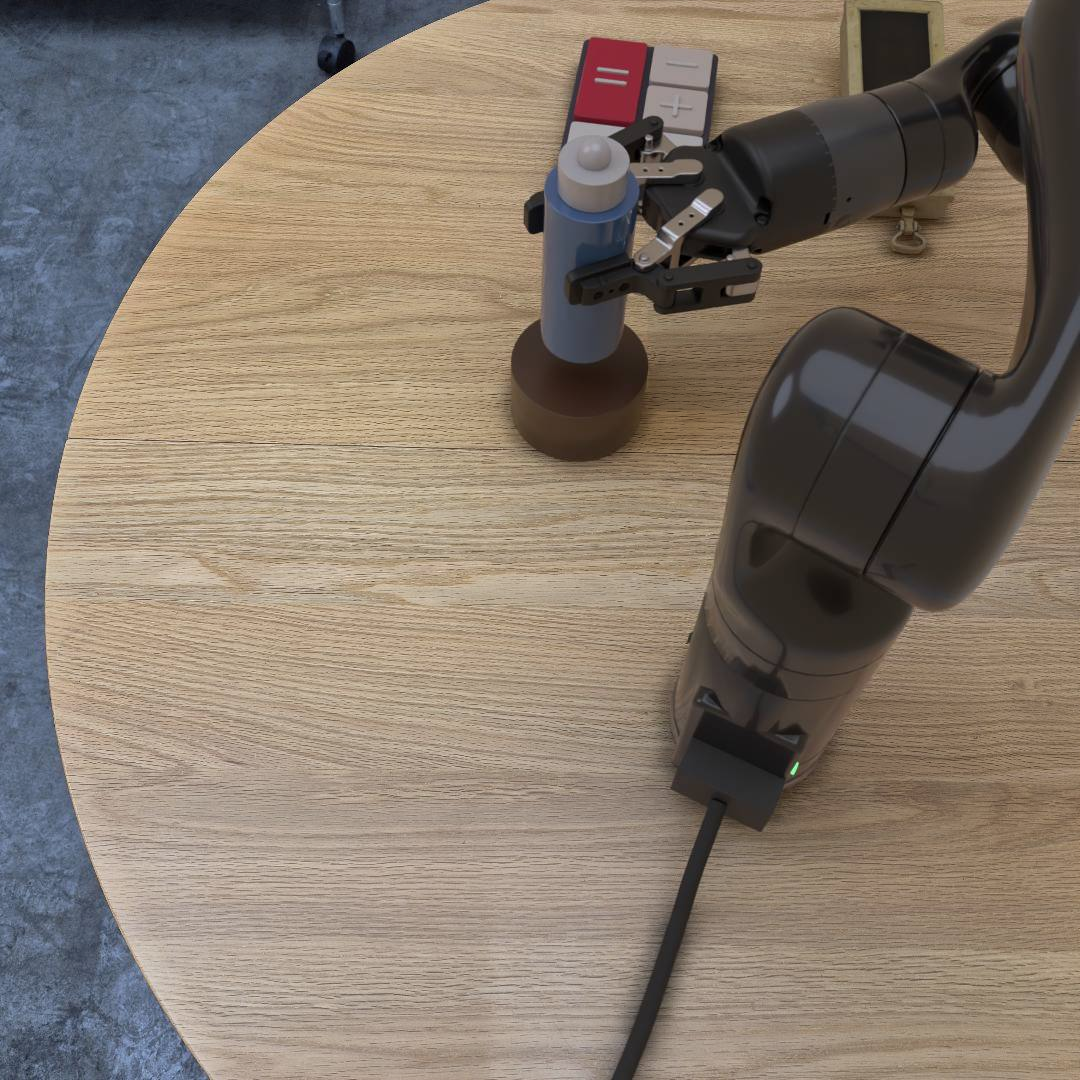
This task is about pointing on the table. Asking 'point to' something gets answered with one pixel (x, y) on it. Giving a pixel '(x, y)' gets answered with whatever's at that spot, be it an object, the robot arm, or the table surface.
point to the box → (894, 75)
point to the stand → (577, 397)
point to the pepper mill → (585, 243)
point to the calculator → (642, 90)
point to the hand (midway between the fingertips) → (547, 253)
